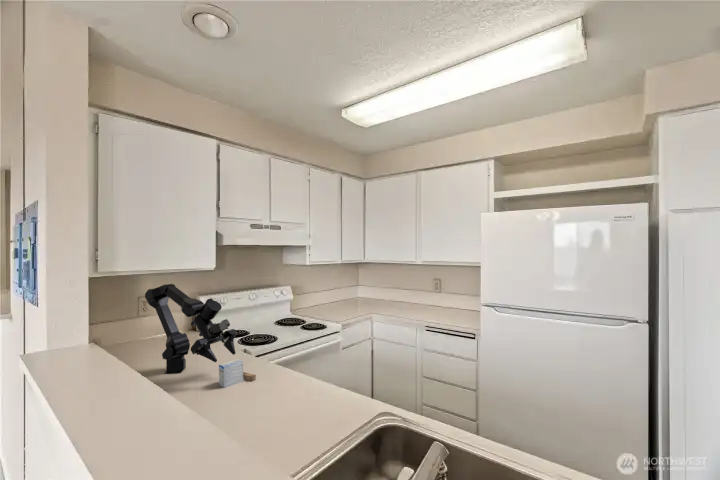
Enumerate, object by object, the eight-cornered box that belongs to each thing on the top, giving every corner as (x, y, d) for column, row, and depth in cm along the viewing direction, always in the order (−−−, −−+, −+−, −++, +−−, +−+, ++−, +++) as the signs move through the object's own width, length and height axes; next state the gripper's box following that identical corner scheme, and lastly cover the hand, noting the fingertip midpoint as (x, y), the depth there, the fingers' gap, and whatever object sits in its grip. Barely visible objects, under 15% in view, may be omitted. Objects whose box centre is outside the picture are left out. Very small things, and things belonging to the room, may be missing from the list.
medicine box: (238, 380, 134) (237, 358, 134) (243, 382, 131) (243, 360, 131) (219, 386, 128) (218, 364, 128) (224, 389, 125) (224, 366, 125)
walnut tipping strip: (229, 377, 137) (229, 371, 137) (233, 375, 139) (233, 369, 139) (252, 382, 132) (252, 376, 132) (255, 381, 133) (255, 374, 133)
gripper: (195, 319, 125) (216, 352, 120) (233, 309, 142) (253, 338, 137) (181, 337, 128) (201, 370, 124) (220, 326, 145) (239, 355, 141)
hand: (225, 357), depth 131 cm, fingers open, 9 cm apart
